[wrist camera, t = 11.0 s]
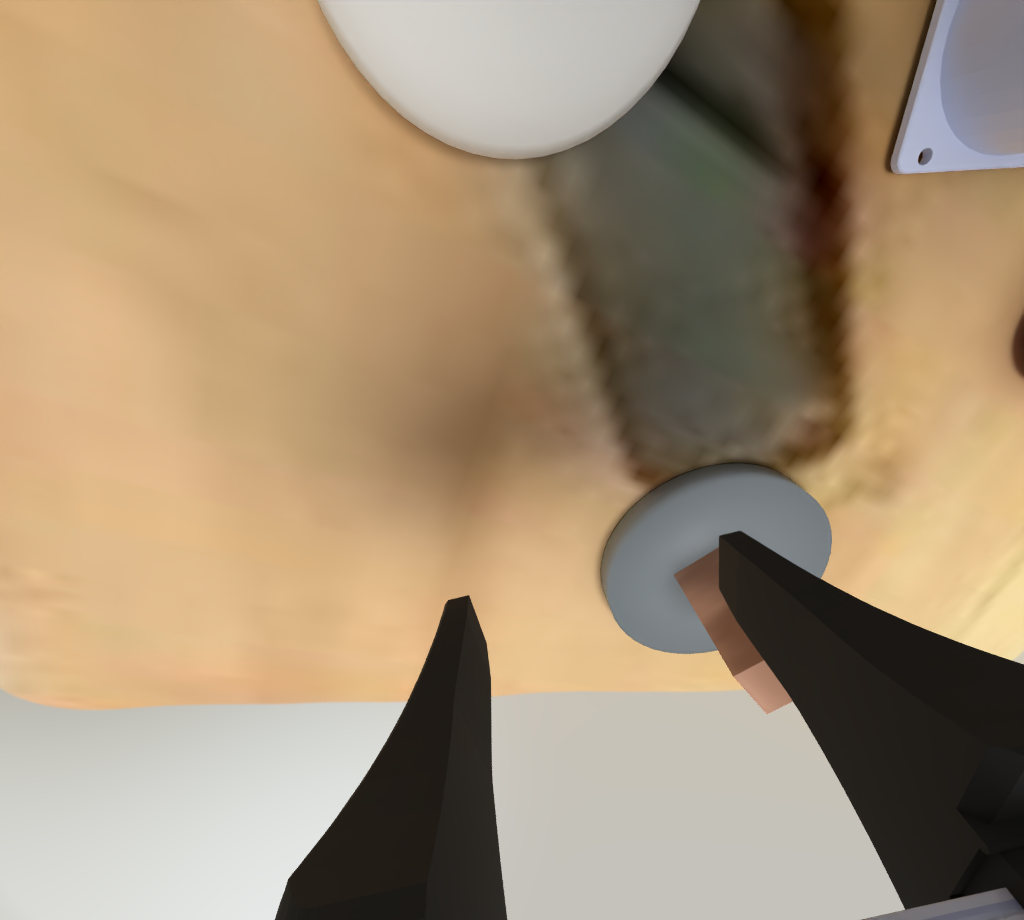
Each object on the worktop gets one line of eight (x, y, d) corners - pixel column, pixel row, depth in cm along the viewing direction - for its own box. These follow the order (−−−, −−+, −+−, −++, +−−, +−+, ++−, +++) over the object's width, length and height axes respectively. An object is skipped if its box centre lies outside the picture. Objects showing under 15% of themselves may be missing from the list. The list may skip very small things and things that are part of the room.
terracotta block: (735, 537, 23) (815, 632, 18) (762, 576, 25) (844, 675, 19) (673, 574, 24) (733, 676, 19) (703, 610, 26) (766, 714, 20)
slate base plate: (839, 452, 23) (862, 467, 22) (784, 621, 29) (799, 640, 28) (605, 475, 22) (614, 491, 21) (596, 643, 28) (603, 665, 27)
